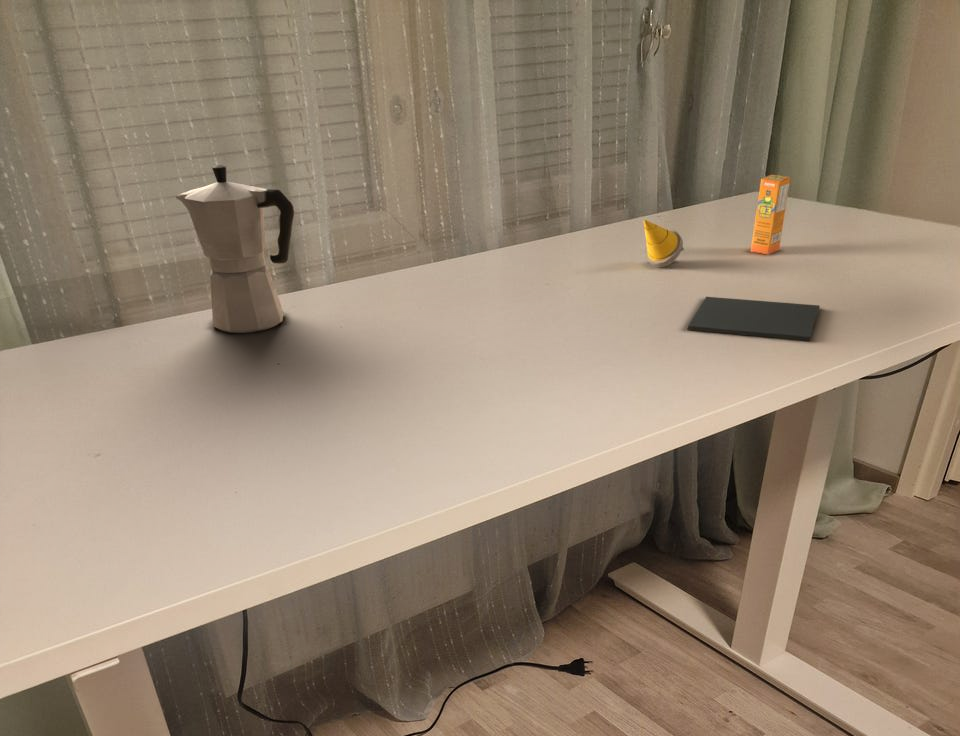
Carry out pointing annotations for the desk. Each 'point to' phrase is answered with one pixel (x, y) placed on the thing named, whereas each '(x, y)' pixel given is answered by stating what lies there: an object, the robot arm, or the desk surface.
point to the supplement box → (770, 214)
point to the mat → (755, 318)
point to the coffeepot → (239, 250)
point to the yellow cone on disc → (661, 244)
